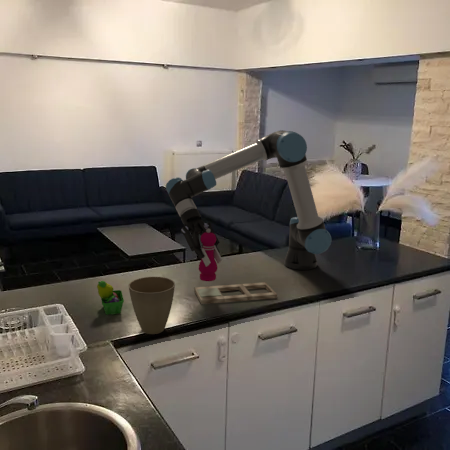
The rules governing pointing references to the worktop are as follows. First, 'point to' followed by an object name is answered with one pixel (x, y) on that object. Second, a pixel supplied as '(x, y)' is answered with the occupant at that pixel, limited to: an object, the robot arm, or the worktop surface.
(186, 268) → the worktop surface
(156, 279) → the plant pot
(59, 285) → the worktop surface
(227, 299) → the board
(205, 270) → the pepper mill
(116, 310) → the fruit basket
